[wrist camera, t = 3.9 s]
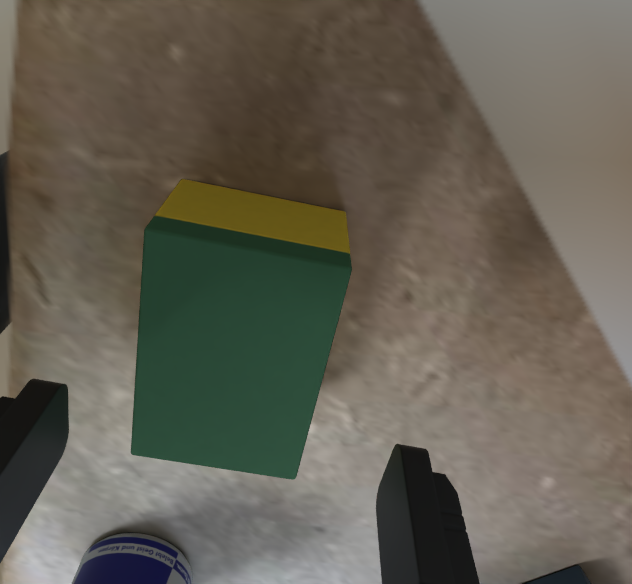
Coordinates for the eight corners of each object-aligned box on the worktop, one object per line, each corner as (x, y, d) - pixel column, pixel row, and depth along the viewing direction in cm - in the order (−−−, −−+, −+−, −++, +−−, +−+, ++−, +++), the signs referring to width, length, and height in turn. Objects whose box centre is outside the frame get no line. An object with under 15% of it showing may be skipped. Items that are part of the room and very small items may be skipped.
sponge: (299, 397, 22) (295, 481, 18) (162, 374, 21) (130, 455, 18) (346, 210, 18) (352, 268, 14) (181, 177, 17) (143, 228, 14)
